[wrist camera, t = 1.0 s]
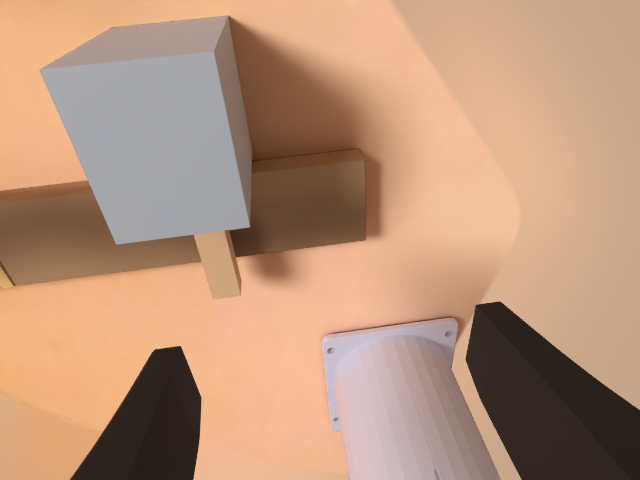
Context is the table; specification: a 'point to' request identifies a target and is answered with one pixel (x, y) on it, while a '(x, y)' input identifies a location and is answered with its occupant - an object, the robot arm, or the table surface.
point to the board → (106, 257)
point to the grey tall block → (162, 135)
